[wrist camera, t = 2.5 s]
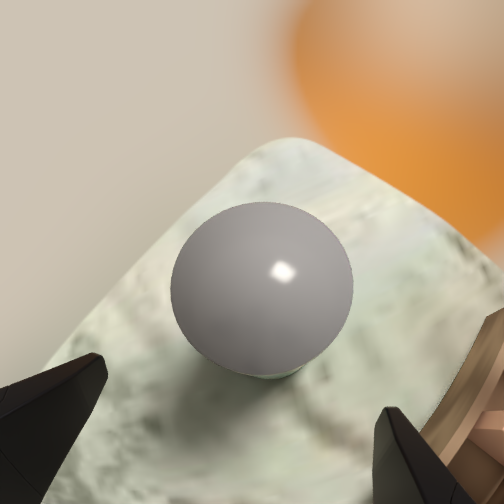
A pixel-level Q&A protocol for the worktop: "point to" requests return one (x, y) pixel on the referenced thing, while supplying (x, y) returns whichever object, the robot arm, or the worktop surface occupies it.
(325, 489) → the worktop surface
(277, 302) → the teal lidded canister
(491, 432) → the bar
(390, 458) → the robot arm
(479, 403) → the small wooden crate
